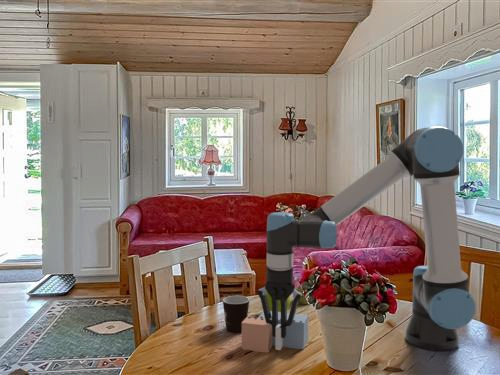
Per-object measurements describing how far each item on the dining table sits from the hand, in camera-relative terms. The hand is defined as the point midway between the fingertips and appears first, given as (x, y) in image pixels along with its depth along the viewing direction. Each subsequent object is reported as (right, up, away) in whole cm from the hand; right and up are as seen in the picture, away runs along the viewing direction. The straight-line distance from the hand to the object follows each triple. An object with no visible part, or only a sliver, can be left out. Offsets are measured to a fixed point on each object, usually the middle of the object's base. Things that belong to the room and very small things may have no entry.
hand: (279, 347), depth 140 cm
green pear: (+12, +2, +46) cm, 48 cm away
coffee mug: (-13, 0, +19) cm, 23 cm away
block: (-6, -1, +4) cm, 7 cm away
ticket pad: (+2, -1, +8) cm, 8 cm away
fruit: (+1, +1, +33) cm, 33 cm away
